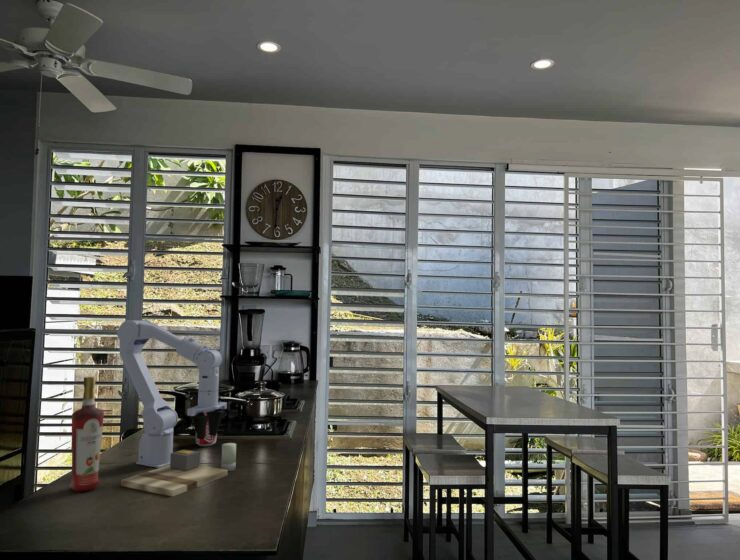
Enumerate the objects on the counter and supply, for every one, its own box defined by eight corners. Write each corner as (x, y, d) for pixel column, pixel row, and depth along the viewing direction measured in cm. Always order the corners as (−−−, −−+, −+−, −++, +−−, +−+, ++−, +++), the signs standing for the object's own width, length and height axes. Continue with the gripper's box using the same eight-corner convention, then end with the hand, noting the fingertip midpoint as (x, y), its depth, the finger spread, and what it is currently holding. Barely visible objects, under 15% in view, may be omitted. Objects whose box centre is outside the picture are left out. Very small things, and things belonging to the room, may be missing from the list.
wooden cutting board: (121, 485, 139) (121, 479, 140) (179, 467, 157) (179, 461, 158) (172, 496, 132) (172, 490, 132) (227, 475, 150) (227, 469, 150)
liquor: (95, 482, 142) (99, 375, 144) (104, 489, 137) (109, 377, 139) (64, 488, 137) (69, 377, 139) (73, 495, 132) (78, 379, 134)
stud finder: (170, 467, 150) (170, 452, 151) (183, 463, 155) (183, 448, 155) (186, 470, 148) (186, 454, 148) (199, 466, 152) (199, 451, 153)
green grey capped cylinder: (218, 470, 155) (219, 445, 155) (227, 466, 158) (228, 442, 159) (229, 471, 153) (229, 446, 154) (238, 468, 157) (239, 443, 157)
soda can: (220, 443, 188) (221, 408, 189) (208, 447, 181) (209, 411, 182) (203, 441, 190) (204, 407, 191) (190, 445, 183) (192, 410, 184)
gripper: (201, 394, 152) (199, 443, 151) (235, 388, 165) (233, 433, 164) (182, 392, 155) (180, 440, 154) (217, 387, 168) (215, 431, 167)
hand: (206, 437), depth 159 cm, fingers open, 4 cm apart
